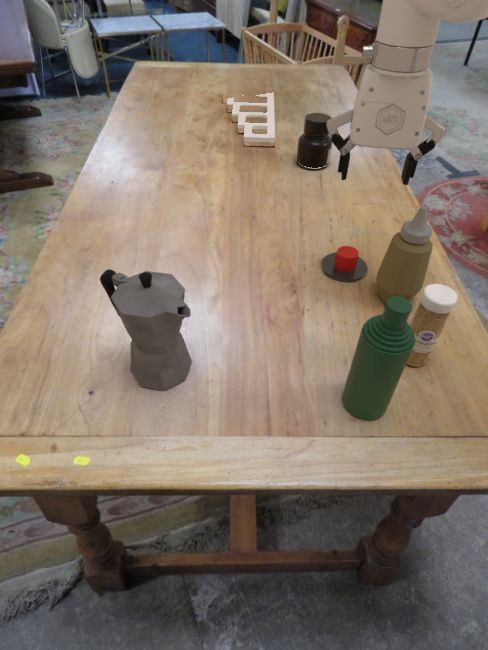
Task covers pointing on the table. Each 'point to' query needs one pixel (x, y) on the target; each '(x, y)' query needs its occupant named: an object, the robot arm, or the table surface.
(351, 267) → the cap
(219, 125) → the table surface
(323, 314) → the table surface
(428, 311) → the sprinkles bottle
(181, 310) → the coffeepot
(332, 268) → the coaster
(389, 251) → the squeeze bottle
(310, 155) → the ink bottle
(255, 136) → the holder
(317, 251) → the table surface
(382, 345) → the bottle
